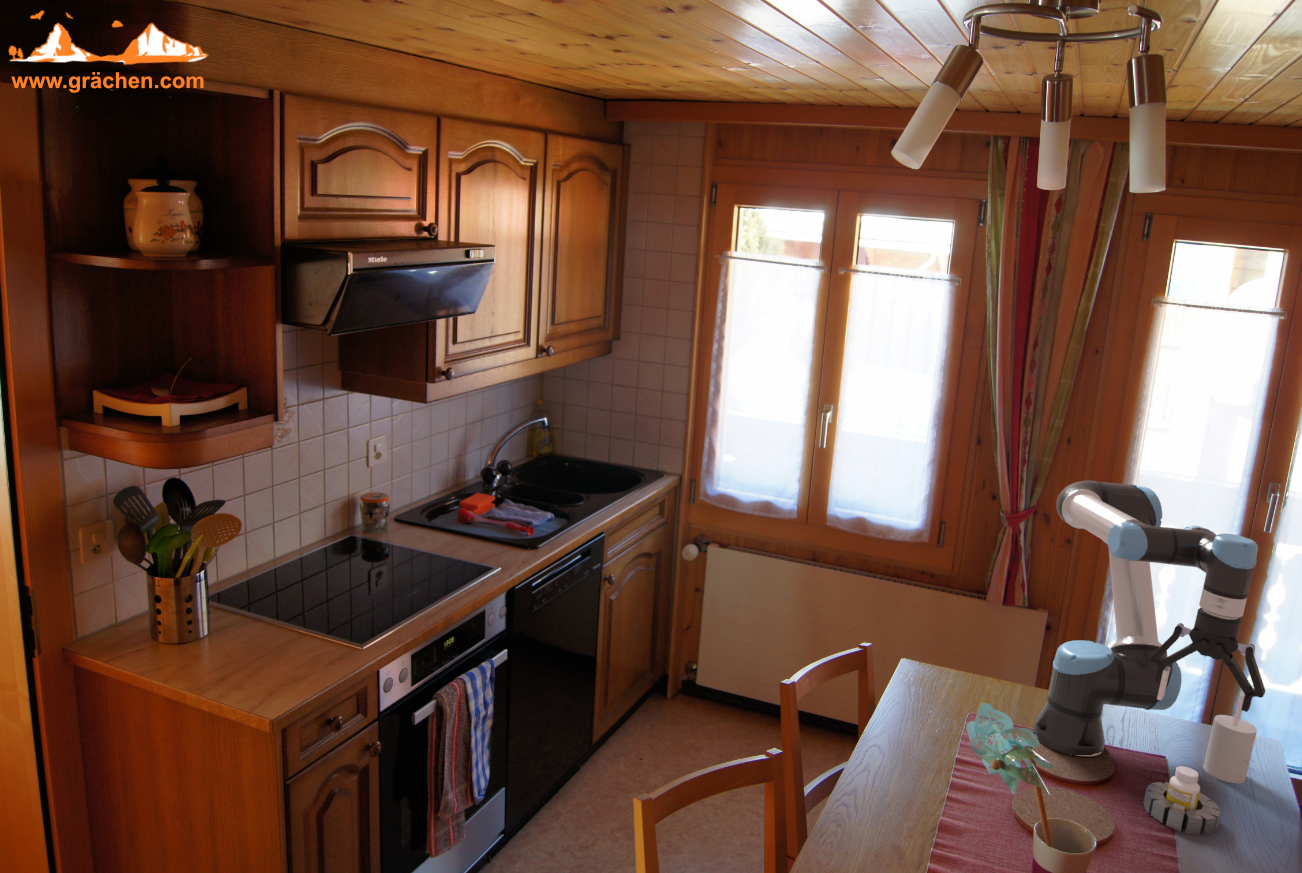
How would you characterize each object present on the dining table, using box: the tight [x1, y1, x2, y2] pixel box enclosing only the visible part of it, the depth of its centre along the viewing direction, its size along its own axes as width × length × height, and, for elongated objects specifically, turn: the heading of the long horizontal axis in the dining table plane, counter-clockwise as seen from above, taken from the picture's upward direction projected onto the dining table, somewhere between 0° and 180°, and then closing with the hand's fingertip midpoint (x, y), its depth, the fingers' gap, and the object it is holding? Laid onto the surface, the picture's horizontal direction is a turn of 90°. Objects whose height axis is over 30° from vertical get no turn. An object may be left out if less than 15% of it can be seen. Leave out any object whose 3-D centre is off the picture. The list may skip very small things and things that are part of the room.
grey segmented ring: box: [1143, 781, 1221, 836], centre depth 189 cm, size 13×13×4 cm
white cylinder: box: [1203, 714, 1258, 784], centre depth 208 cm, size 8×8×12 cm
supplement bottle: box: [1166, 765, 1201, 811], centre depth 189 cm, size 5×5×10 cm
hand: (1197, 710), depth 189 cm, fingers open, 13 cm apart
